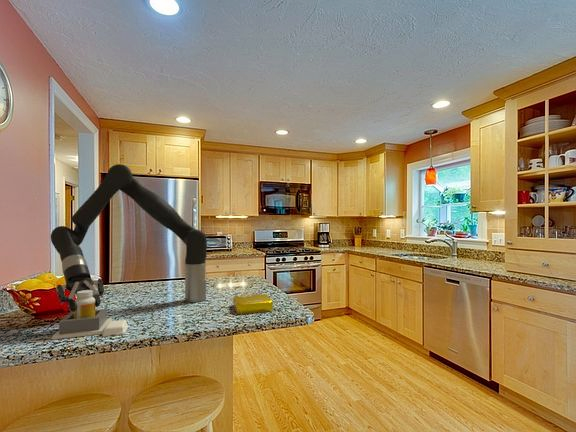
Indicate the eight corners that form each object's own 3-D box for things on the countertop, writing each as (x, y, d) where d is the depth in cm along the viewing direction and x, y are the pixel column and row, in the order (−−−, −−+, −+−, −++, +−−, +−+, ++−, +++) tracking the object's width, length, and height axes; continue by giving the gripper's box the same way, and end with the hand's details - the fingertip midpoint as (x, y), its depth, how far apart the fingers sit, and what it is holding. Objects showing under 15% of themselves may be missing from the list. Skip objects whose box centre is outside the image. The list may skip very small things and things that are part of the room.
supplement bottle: (99, 321, 107) (99, 289, 107) (87, 327, 101) (88, 293, 101) (81, 321, 107) (81, 289, 107) (68, 327, 100) (69, 293, 101)
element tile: (237, 315, 119) (237, 303, 119) (232, 305, 133) (232, 294, 133) (274, 311, 123) (274, 300, 124) (265, 302, 138) (265, 292, 138)
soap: (124, 335, 99) (124, 326, 99) (100, 338, 96) (100, 329, 97) (128, 326, 107) (128, 318, 107) (107, 328, 105) (107, 320, 105)
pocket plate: (111, 320, 112) (112, 307, 113) (103, 333, 99) (103, 318, 99) (67, 325, 108) (67, 311, 108) (51, 339, 94) (52, 323, 95)
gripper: (53, 265, 103) (63, 306, 95) (100, 261, 114) (112, 297, 106) (49, 279, 107) (58, 319, 99) (95, 273, 118) (106, 309, 110)
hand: (86, 307), depth 103 cm, fingers open, 6 cm apart
